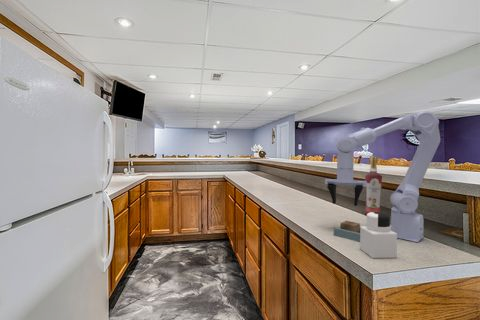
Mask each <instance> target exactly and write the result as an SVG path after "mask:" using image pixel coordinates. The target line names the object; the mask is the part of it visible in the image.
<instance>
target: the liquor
mask: <svg viewBox="0 0 480 320" xmlns="http://www.w3.org/2000/svg"><path fill="white" fill-rule="evenodd" d="M377 160H378V158H377V156H370V168H369V172H368V173H366V174H365V175H364V181H367V186H366V187H364V192H365V211H364V213H365V214H366V215H367V214H368V213H370V212H381V196H382V187H383V186H382V184H383V176H382V175H381V174H380V173H378V171H377V170H378V169H377Z"/></svg>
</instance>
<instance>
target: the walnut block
mask: <svg viewBox="0 0 480 320" xmlns="http://www.w3.org/2000/svg"><path fill="white" fill-rule="evenodd" d="M360 227H361V223H360V222H353V221H349V220H345V221H342V222H340V227H339V228H340V229H344V230H348V231H353V232H357V233H360Z"/></svg>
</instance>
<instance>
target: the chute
mask: <svg viewBox="0 0 480 320" xmlns="http://www.w3.org/2000/svg"><path fill="white" fill-rule="evenodd" d="M333 236H337V237H339V238H344V239H348V240H351V241H356V242H359V243H360V233H357V232H353V231H348V230H344V229H340V227H333Z"/></svg>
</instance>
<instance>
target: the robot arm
mask: <svg viewBox="0 0 480 320" xmlns="http://www.w3.org/2000/svg"><path fill="white" fill-rule="evenodd" d="M439 124H440V120H439V119H438V117H437V116H436V114H434V113H433V112H431V111H429V110H423V111H420V112H418V113H412V114H408V115H405V116H401V117H398V118H397V119H394V120H391V121H389V122H387V123H385V124H382V125H380V126H378V127H376V128H369V127H366V128H365V127H361V128H360V130H358V131H356V132H353V133H348V134H347V135H344V136H343V137H341V138H339V139H338V141H337V142H336V148H337V157H336V159H337V161H336V178H333V179H332V178H325V179H324V185H327V186H326V187H327V189H328V192H329V194H330V197H331V199H332V204H336V203H337V186H350V187H351V186H352V187H353V186H354V203H353V205H354V207H356V206H358V202H359V198H360V196H361V193H362V191H363V189H364V188H365V187H366V186H367V181H365V180H357V179H354V158H355V157H354V149H359V148H361V147H364V146H367V145H370V144H372V143H374V142H375V141H376V139H377V138H378V137H379V136H383V135H386V134H389V133H391V132H394V131H397V130H404V131H405V130H408V131H409V132H411V133H412V134H414V135H415V137H416V138H417V140H418V141H419V144H418V146H417V149H416V151H415V152H414V155H413V158H412V160H411V162H410V164H409V166H408V168H407V171H406V173H405V176H404V178H403V180H402V182H401V183H400V184H399V185H398V187H397V188H396V190H395V191H394V192H393V193H392V194H391V195H390V196H389V202H390V203H391V205H392V207H391V210H390V212H391V213H390V230H391V231H393V232H395V233H397V239H402V240H406V241H410V242H414V243H419V242H420V241H422V239H423V238H424V225H425V224H424V215H423V214H421V213H417V212H416V210H417V209H418V206H419V202H418V201H419V200H418V199H419V196H420V191H419V188H420V186H421V184H422V182H423V180H424V178H425V175H426V174H427V171H428V169H429V168H430V164H431V163H432V160H433V158H434V155H435V154H436V151H437V149H438V147H439V145H440V142H441V133H440V128H439Z"/></svg>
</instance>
